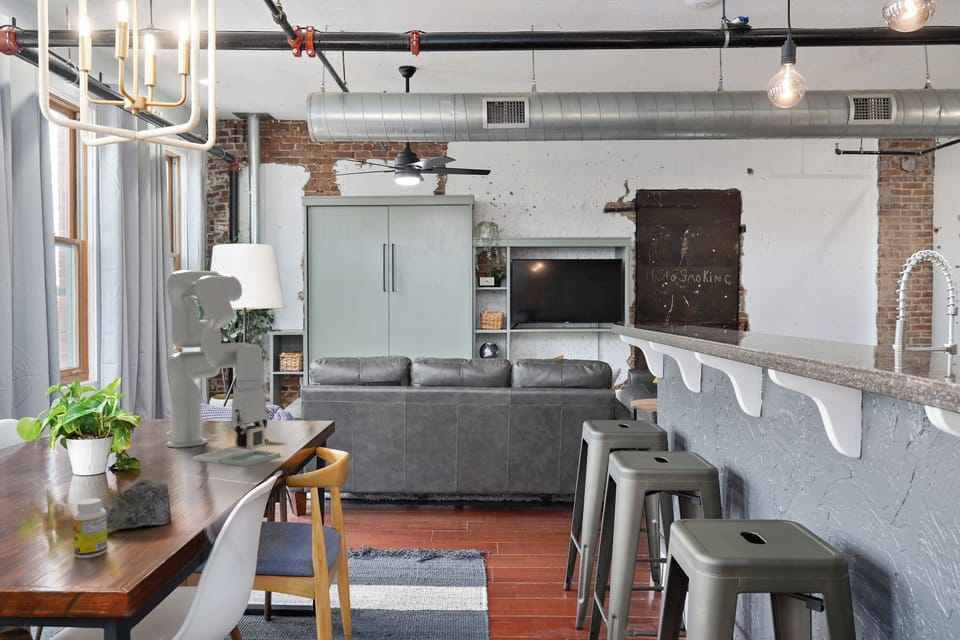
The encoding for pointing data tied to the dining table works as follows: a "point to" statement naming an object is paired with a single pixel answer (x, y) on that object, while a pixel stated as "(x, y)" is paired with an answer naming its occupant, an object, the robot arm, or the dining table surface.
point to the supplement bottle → (90, 529)
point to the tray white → (220, 454)
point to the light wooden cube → (253, 437)
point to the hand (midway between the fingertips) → (250, 443)
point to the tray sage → (250, 458)
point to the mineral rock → (140, 506)
